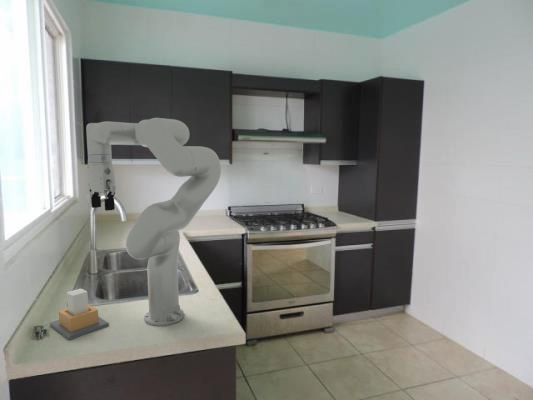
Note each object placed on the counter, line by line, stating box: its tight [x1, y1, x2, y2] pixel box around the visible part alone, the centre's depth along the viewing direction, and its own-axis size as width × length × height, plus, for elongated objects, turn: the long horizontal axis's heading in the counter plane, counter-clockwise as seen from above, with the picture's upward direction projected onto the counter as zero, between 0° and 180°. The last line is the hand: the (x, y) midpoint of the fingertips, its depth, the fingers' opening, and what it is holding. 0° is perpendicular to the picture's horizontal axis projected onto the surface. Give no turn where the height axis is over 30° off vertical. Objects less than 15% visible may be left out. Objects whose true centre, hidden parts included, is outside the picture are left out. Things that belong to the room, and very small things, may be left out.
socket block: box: [49, 303, 110, 341], centre depth 119 cm, size 14×12×5 cm
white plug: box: [66, 288, 89, 316], centre depth 119 cm, size 4×4×10 cm
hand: (103, 208), depth 133 cm, fingers open, 9 cm apart
